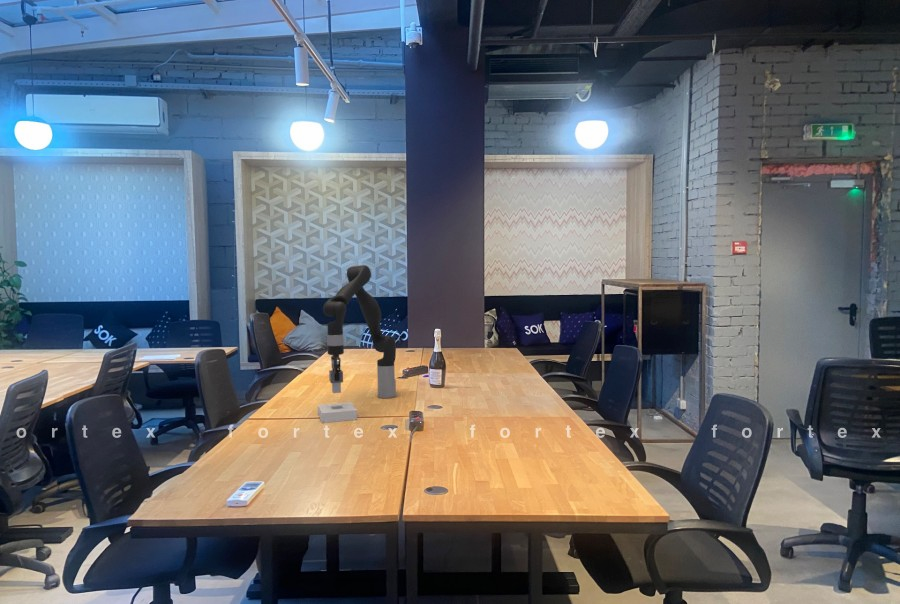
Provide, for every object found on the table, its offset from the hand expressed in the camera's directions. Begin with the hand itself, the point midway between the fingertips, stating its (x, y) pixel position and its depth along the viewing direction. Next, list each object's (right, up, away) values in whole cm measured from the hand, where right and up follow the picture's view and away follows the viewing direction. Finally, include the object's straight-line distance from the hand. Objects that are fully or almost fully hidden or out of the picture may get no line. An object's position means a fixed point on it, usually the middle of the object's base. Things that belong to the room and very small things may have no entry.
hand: (336, 379), depth 277 cm
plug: (0, -6, 0) cm, 6 cm away
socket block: (0, -18, +1) cm, 18 cm away
